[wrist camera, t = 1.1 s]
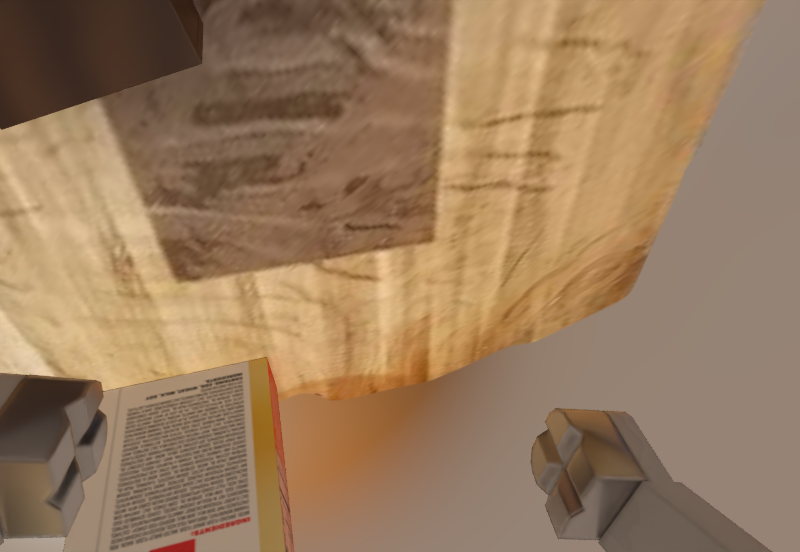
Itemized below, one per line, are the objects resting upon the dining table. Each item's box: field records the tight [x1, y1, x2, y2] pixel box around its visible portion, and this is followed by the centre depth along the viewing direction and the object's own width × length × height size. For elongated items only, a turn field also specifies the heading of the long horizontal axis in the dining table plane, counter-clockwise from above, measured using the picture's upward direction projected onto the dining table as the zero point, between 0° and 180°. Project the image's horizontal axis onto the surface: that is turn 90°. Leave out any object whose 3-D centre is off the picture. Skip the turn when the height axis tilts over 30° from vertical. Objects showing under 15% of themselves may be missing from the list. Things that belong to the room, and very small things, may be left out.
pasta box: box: [63, 357, 294, 552], centre depth 62 cm, size 23×8×30 cm, turn 90°
